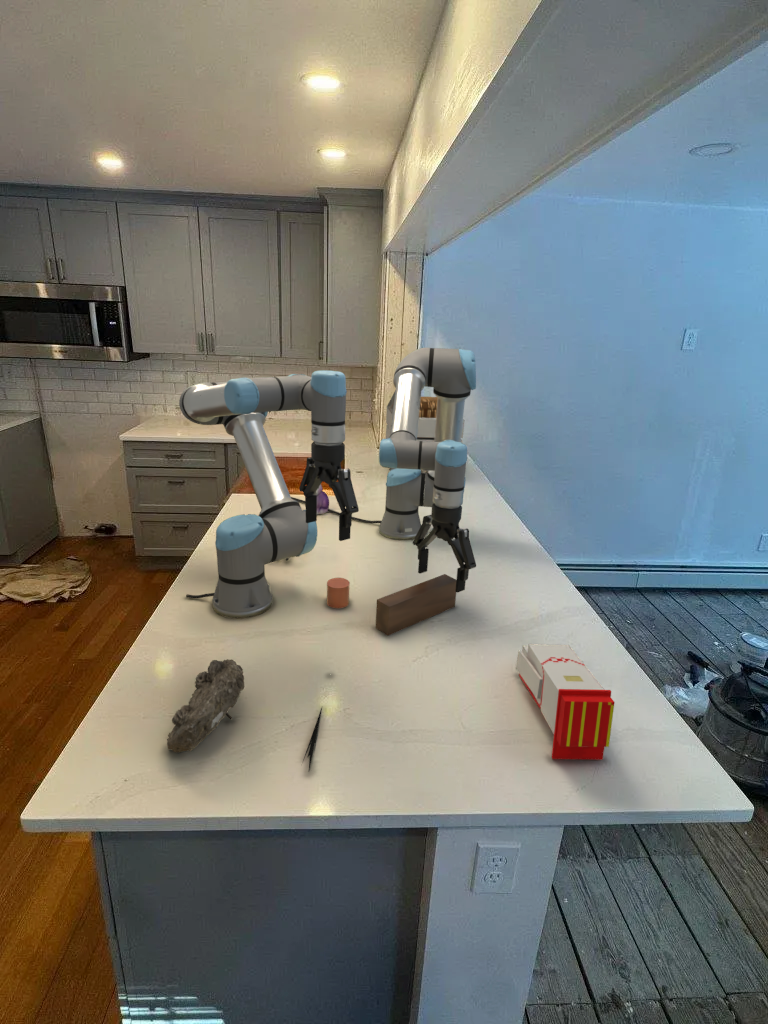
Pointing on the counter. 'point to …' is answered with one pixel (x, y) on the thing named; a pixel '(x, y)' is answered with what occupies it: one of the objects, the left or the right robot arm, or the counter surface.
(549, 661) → the toy
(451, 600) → the beam
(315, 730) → the feather
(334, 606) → the orange clay cylinder
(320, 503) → the figurine
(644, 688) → the counter surface
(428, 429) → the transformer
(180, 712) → the fossil
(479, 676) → the counter surface
